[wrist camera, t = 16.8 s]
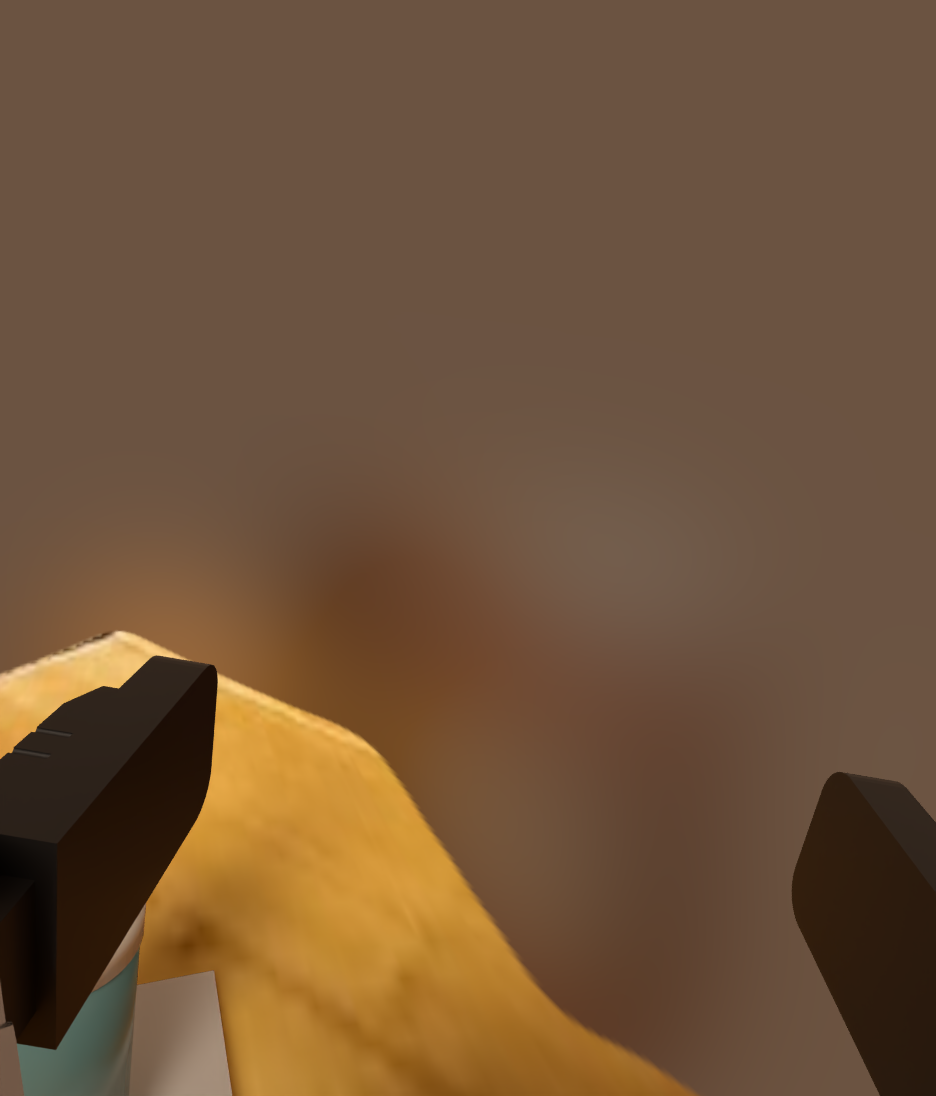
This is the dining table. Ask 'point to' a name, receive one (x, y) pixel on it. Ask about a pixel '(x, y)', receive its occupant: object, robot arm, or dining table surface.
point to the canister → (93, 1035)
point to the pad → (179, 1039)
